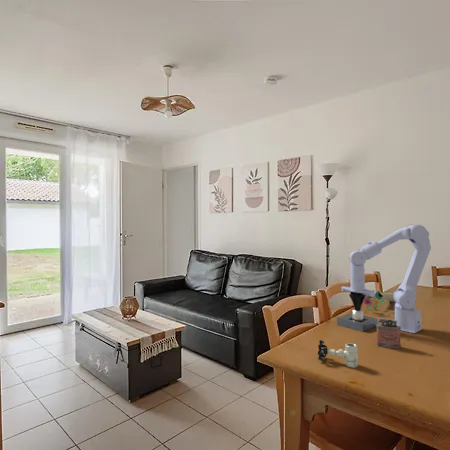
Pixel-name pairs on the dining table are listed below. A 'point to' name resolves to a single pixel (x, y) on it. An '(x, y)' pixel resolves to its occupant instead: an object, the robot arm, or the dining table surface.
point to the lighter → (388, 333)
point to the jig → (360, 326)
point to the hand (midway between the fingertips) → (357, 310)
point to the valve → (341, 353)
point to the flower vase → (378, 299)
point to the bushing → (357, 315)
